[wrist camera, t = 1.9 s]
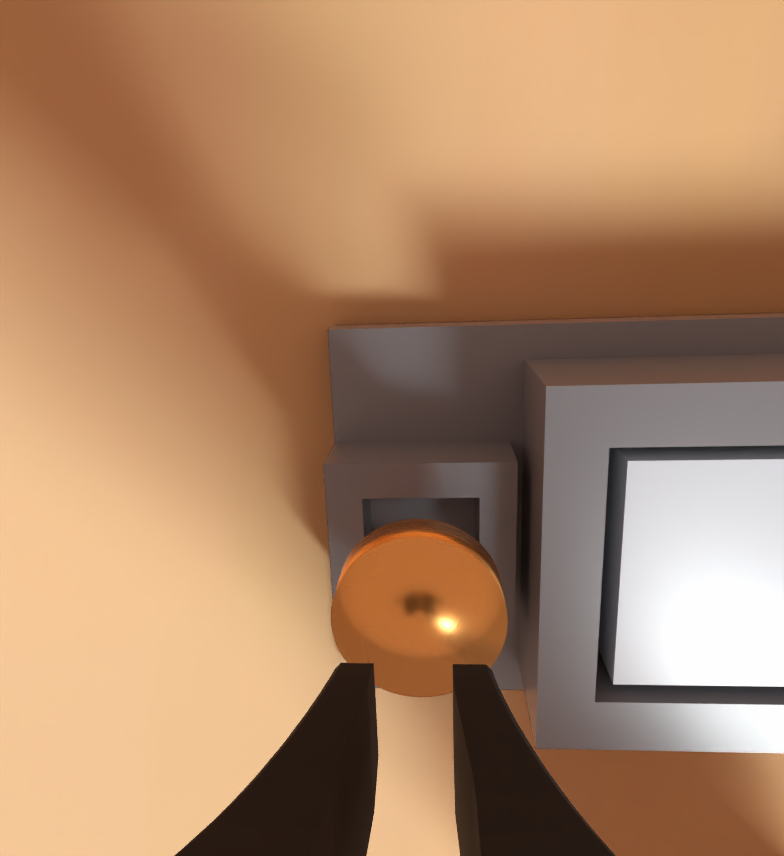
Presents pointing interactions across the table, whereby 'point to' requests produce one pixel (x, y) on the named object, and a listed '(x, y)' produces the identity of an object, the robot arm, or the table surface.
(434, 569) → the plunger
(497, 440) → the housing
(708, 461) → the cartridge
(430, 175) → the table surface
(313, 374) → the table surface
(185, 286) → the table surface
